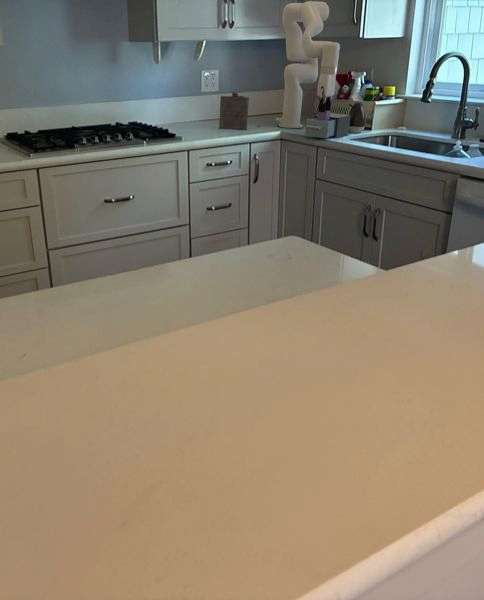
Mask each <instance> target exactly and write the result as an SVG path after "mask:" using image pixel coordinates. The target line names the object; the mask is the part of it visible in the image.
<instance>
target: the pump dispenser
mask: <svg viewBox="0 0 484 600" xmlns="http://www.w3.org/2000/svg"><path fill="white" fill-rule="evenodd" d="M348 106H349V107H350V108H349V110H348V112H347V115H351V117H350V124H349V132H348V133H351V134H360V133H362V132H363V131H364V129H365V127H366V124H367V118H366V109H365V107H364V104H363V103H362V102H360V101H354V102H353V104H352V103H349V104H348Z"/></svg>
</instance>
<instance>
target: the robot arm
mask: <svg viewBox="0 0 484 600" xmlns="http://www.w3.org/2000/svg"><path fill="white" fill-rule="evenodd" d="M329 15H330V7H329V5H328V4H327V2H325V1H311V0H308V1H304V2H291V3H288V4H286V5H285V6H284V8H283V11H282V24H283V28H284V33H285V51H286V58H287V60H288V61H289V62H296V63H290V64H287V66H285V68H284V72H283V78H284V94H283V103H282V105H283V106H282V116H281V117H276V118H275V122H279V123H278V127H280V128H285V129H302V128H303V124H301V116H302V105H303V96H304V95H303V93H304V91H303V89H302V87H301V85H300V84H313V83H315V82H316V81H317V79H318V83H317V91H316V96H317V97H318V109H317V113H318V112H325V110H327V111H331V108H332V102H333V97H334V96H335V90H336V80H337V79H336V75H338V67H339V56H340V49H341V45H340V43H339V42H336V41H327V40H326V41H324V40H312V38H313V37H315V36H317V35H319V34H320V33H321V32H322V31H323V29H324V21H326V20H327V19H328V18H329ZM298 22H299V23H300V22H301V23H302V24H303V26H304V29H305V30H304V32H303V30H302V28H301V26H300V25H299V24H298ZM319 59H321V63H320V72H319V64H318V63H319V61H318V60H319ZM297 62H300V63H297ZM301 62H303V63H301ZM319 74H320V75H319ZM318 76H319V78H318Z"/></svg>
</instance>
